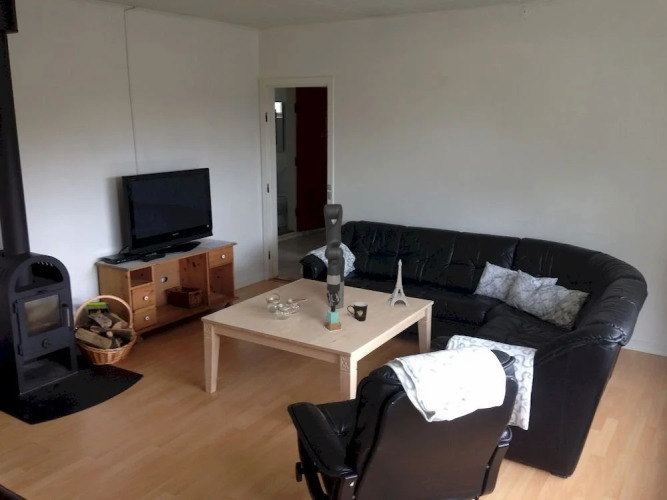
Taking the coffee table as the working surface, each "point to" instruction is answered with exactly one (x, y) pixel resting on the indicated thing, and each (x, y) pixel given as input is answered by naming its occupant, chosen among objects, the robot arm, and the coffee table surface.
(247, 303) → the coffee table surface
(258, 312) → the coffee table surface
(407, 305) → the eiffel tower
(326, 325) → the walnut block
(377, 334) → the coffee table surface
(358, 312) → the coffee mug
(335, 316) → the teal block
